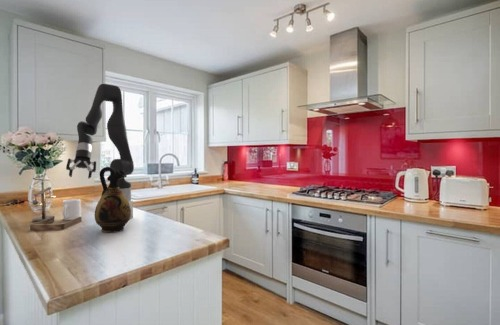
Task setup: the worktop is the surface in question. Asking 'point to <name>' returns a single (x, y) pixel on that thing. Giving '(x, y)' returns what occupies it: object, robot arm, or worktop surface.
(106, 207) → the ceramic jug
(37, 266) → the worktop surface
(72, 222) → the tray frame
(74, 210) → the mug
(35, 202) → the balance
